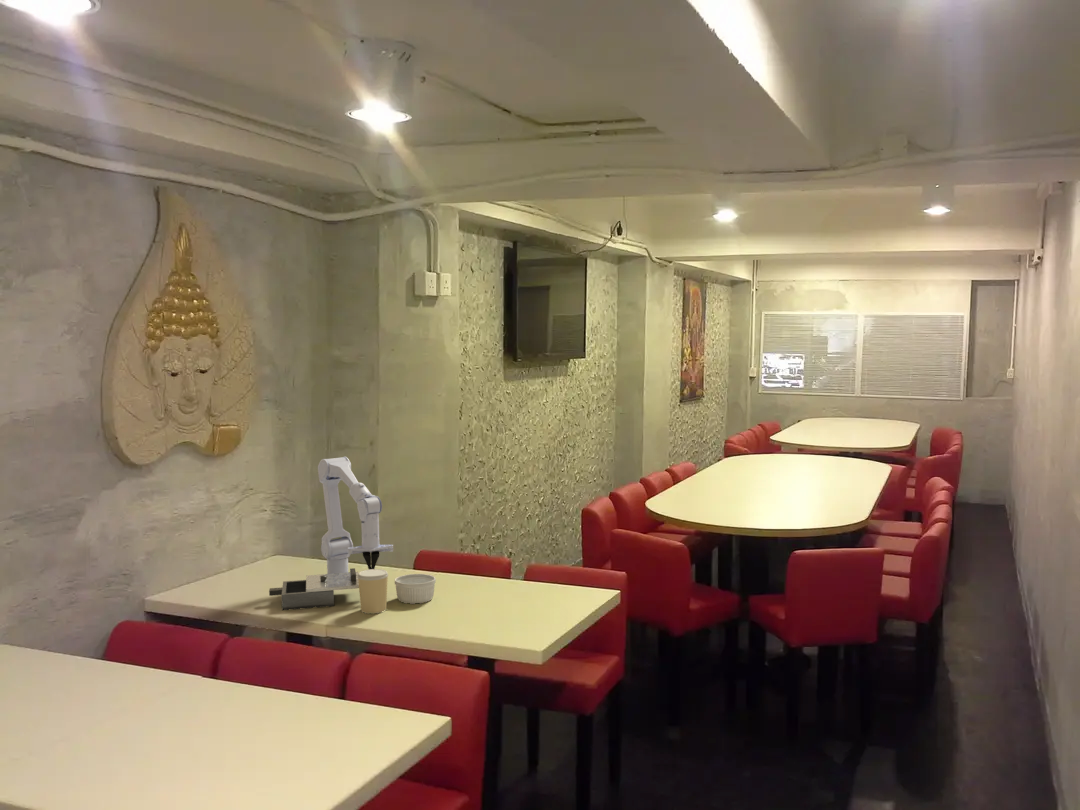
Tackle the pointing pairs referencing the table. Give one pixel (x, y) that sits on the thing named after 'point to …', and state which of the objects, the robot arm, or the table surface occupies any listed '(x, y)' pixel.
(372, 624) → the table surface
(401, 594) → the ramekin
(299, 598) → the gray rectangular box
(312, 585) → the lid
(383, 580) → the coffee cup
